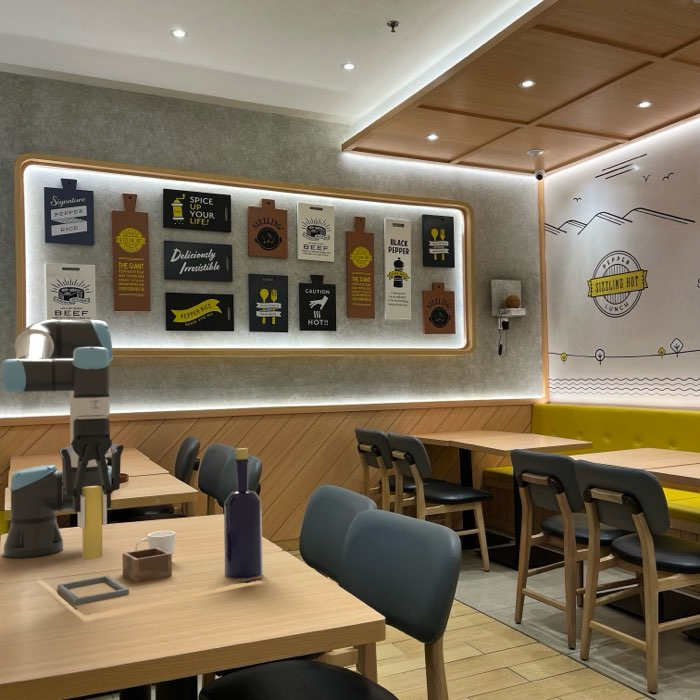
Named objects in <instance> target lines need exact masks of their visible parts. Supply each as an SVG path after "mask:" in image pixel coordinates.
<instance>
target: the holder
mask: <svg viewBox="0 0 700 700" xmlns="http://www.w3.org/2000/svg"><path fill="white" fill-rule="evenodd" d="M172 558H173V555H172V554H171V553H169V552H167V551H165V550H163V549H160V548H158V547H156V548H150V549H149V548H144V549H140V550H139V549H138V550H136V551H135V550H134V551H128V552H122V576H123V577H126V578H127V579H129V580H130V581H132V582H133V583H140V582H146V581H150V580H157V579H162V578H166V577H171V576H173V573H172V572H173V568H172V566H173V565H172V564H173V563H172V560H173V559H172Z"/></svg>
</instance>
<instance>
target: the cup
mask: <svg viewBox="0 0 700 700" xmlns="http://www.w3.org/2000/svg"><path fill="white" fill-rule="evenodd" d="M176 536H177V532H175V531H172V530H159V531H153V532H150V533H148V534H147V538H142V539H140V540H138V542H136V545H135V549H134V551H138V550H137V549H138V547H139V545H140V543H141V542H147V543H148V547H149V548H148V549H150V548H156V547H158V548H160V549H163V550H165V551H167V552H169V553H171V554H172V556H173V554H174V550H175V544H176Z"/></svg>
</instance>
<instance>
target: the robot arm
mask: <svg viewBox="0 0 700 700" xmlns="http://www.w3.org/2000/svg"><path fill="white" fill-rule="evenodd" d="M112 344H113V343H112V337H111V331H110V327H109V324H108V323H107V322H106V321H103V320H98V319H96V320H95V319H47V320H41V321H39V322H38V321H37V322H35V323H32V324H31V325H29V326H27V327H25V328H24V329H23V330H21V331H20V332H19V333H18V335H17V337H16V339H15V342H14V351H15V353H16V354H15V355H16V356H15V358H9V359H8V358H7V359H5V360H3V361H2V363H1V364H2V365H1V388H2V390H3V391H4V392H6V393H18V394H22V393H41V392H42V393H44V392H45V393H46V392H47V393H48V392H69V393H70V394H69V402H70V403H69V416H70V417H69V422H70V423H69V426H70V427H69V431H70V432H69V433H70V434H69V437H70V439H69V440H70V441H69V446H67V447H66V446H65V447H64V448H60V449H59V450H58V454H59V455H60V459H61V462H62V469H58V467H57V465H55V464H47V465H46V464H45V465H38V466H35V467H29V468H26V469H21V470H18V471H16V472H14V473H13V474H12V476H11V479H10V489H9V492H10V527H9V530H8V533H7V536H6V538H5V539H6V540H5V542H4V544H3V556H4V557H7V558H13V559H14V558H16V559H17V558H20V559H21V558H22V559H24V558H33V557H42V556H47V555H52V554H55V553H58V552H60V551H62V550H63V549H64V540H63V536H62V533H61V531H60V527H59V525H58V522H57V512H66V511H68V512H69V511H73V512H75V513H77V527H78V528H81V529H83V528H85V497H83V496H82V488H83V487H87V486H102V526H105V525H108V524H107V523H108V510H107V509H110V508H111V506H112V494H113V492H115V491H118V490H119V489H120V488H121V487H120V486H121V461H122V460H121V459H122V453H123V450H124V446H123V445H122V444H117V443H114V442H113V440H112V439H111V434H110V432H111V429H110V428H111V422H110V421H111V420H110V419H109V417H107V416H110V414H111V413H110V403H111V402H110V364H111V361H113V359H114V354H113V345H112ZM109 450H110V453H111V465H109V464H108V459H107V458H106V455H107V453H108V452H109Z"/></svg>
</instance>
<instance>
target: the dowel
mask: <svg viewBox="0 0 700 700" xmlns="http://www.w3.org/2000/svg"><path fill="white" fill-rule="evenodd" d="M82 496H83V497H85V528H82V559H83V560H84V559H85V560H94V559H100V558H102V557H103V525H102V486H87V487H83V488H82Z"/></svg>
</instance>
